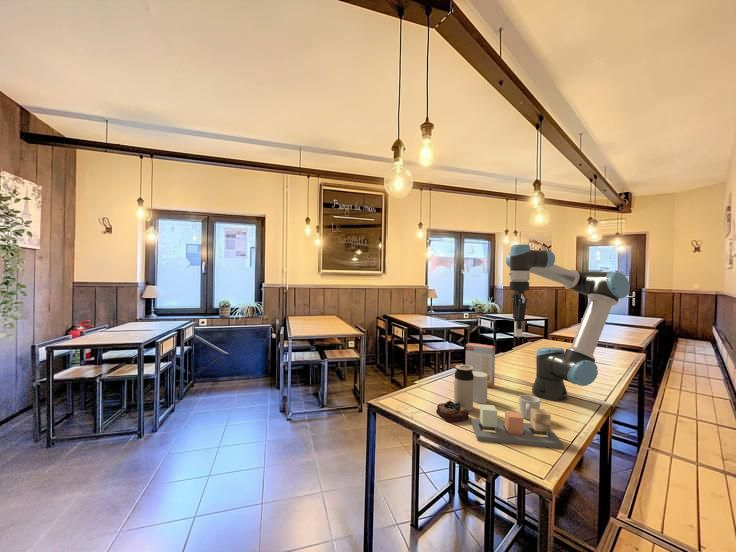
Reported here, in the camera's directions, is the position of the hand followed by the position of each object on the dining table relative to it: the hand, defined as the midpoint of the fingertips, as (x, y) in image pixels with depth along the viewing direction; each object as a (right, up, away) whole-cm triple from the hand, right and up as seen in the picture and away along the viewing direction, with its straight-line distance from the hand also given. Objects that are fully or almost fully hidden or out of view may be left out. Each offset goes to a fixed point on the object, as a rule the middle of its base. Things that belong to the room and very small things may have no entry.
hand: (518, 336), depth 138 cm
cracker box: (-4, -32, +35) cm, 48 cm away
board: (-11, -32, -19) cm, 39 cm away
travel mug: (-22, -32, +4) cm, 39 cm away
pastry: (-29, -32, -5) cm, 44 cm away
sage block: (-20, -29, -18) cm, 39 cm away
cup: (+1, -33, -6) cm, 33 cm away
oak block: (-2, -29, -21) cm, 36 cm away
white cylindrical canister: (-13, -32, +13) cm, 37 cm away
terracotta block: (-11, -31, -19) cm, 38 cm away
